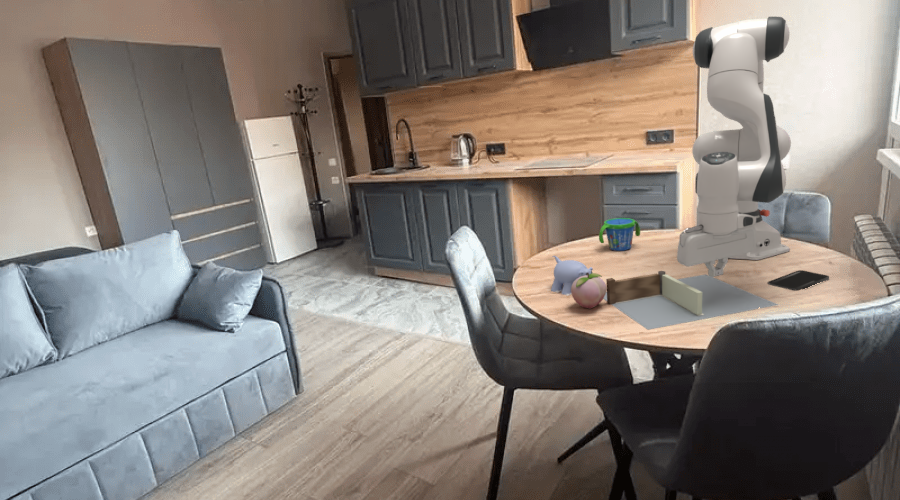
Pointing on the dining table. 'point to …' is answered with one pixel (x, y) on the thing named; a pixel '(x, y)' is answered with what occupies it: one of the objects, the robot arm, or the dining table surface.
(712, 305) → the board
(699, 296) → the fence gate
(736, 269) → the dining table surface
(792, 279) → the phone
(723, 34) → the robot arm
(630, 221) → the snack cup
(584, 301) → the decorative fruit
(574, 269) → the hippopotamus toy
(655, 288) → the fence fixed
